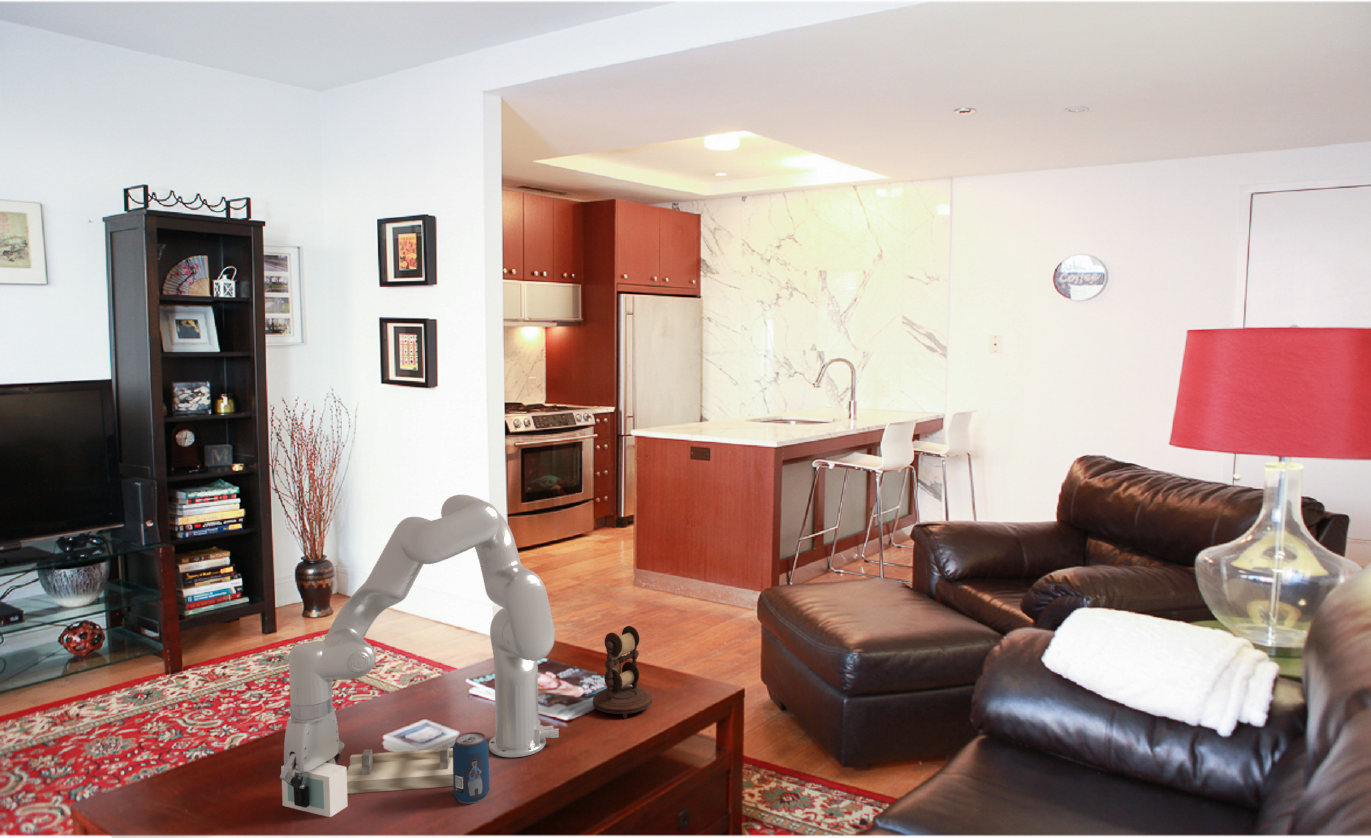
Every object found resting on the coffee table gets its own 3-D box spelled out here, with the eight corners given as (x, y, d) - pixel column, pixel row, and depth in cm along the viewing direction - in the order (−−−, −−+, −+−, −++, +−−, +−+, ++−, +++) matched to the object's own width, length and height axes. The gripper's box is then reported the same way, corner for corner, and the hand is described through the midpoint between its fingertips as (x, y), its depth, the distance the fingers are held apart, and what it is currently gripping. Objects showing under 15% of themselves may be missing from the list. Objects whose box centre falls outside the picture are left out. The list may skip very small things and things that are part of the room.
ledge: (468, 765, 188) (467, 735, 188) (464, 785, 179) (463, 754, 179) (351, 773, 185) (350, 743, 184) (341, 794, 176) (340, 762, 175)
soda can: (471, 785, 179) (470, 728, 179) (496, 793, 176) (495, 735, 175) (446, 799, 173) (444, 740, 173) (472, 808, 170) (470, 748, 169)
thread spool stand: (619, 692, 229) (618, 617, 228) (663, 705, 221) (663, 627, 219) (580, 710, 217) (579, 631, 216) (626, 725, 209) (625, 642, 207)
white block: (347, 806, 171) (346, 766, 171) (330, 817, 167) (328, 777, 166) (300, 795, 176) (299, 756, 175) (282, 806, 171) (281, 766, 171)
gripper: (329, 689, 179) (332, 775, 181) (260, 722, 163) (264, 815, 165) (358, 694, 177) (361, 781, 178) (291, 728, 161) (295, 823, 162)
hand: (314, 797), depth 171 cm, fingers open, 5 cm apart
